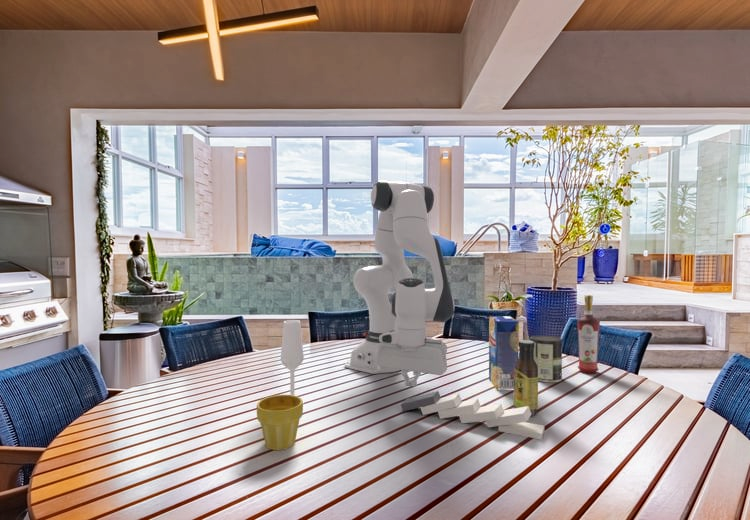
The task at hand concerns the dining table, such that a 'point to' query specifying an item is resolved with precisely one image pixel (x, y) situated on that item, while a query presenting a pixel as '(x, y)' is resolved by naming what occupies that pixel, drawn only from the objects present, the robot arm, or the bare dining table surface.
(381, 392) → the dining table surface
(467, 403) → the domino
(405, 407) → the domino
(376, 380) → the dining table surface
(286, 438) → the plant pot
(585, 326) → the liquor
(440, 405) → the domino
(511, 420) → the domino
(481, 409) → the domino
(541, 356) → the coffee can
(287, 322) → the champagne flute
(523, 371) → the sauce bottle
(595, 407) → the dining table surface
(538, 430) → the domino
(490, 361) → the beverage box
